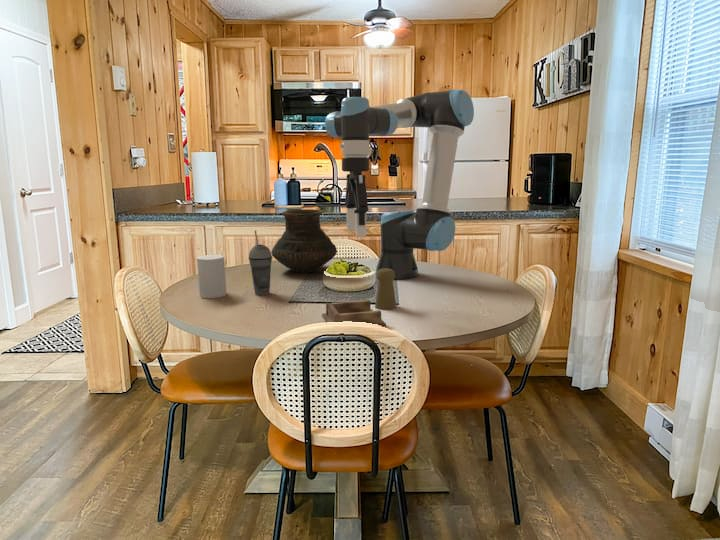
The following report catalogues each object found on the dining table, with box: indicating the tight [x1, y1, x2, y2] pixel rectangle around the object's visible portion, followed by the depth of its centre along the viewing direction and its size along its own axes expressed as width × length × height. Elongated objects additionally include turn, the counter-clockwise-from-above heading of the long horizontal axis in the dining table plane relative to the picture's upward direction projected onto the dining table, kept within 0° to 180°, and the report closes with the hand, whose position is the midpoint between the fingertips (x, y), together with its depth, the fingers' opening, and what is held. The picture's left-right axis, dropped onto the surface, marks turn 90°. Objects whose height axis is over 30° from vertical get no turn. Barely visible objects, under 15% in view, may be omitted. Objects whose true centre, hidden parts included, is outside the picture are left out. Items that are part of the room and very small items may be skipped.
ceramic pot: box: [270, 208, 338, 273], centre depth 192 cm, size 24×24×22 cm
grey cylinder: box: [196, 254, 227, 299], centre depth 159 cm, size 8×8×12 cm
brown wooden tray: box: [321, 299, 387, 327], centre depth 133 cm, size 14×13×4 cm
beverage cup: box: [248, 229, 273, 296], centre depth 159 cm, size 7×7×20 cm
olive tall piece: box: [374, 268, 397, 311], centre depth 144 cm, size 6×6×11 cm
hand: (356, 233), depth 144 cm, fingers open, 13 cm apart
